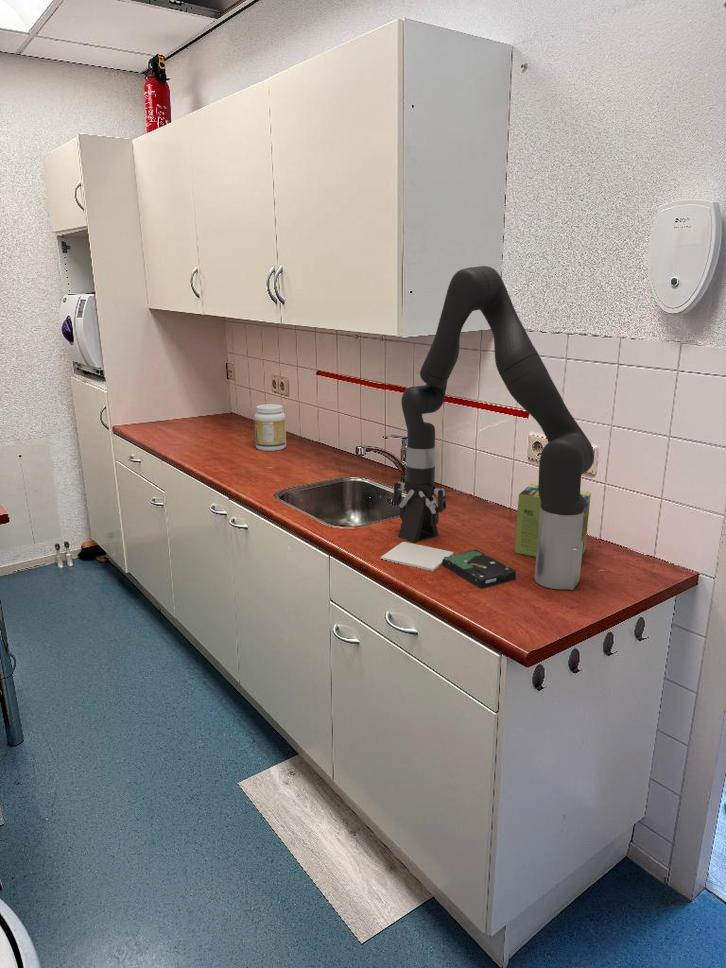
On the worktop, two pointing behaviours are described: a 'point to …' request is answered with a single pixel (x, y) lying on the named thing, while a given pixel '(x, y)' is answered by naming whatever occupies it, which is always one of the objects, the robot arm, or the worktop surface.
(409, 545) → the grey mat
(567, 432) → the robot arm
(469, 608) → the worktop surface
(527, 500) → the protein box
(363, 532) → the worktop surface
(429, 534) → the phone stand
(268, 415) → the supplement tub
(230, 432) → the worktop surface
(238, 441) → the worktop surface
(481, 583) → the disk drive
